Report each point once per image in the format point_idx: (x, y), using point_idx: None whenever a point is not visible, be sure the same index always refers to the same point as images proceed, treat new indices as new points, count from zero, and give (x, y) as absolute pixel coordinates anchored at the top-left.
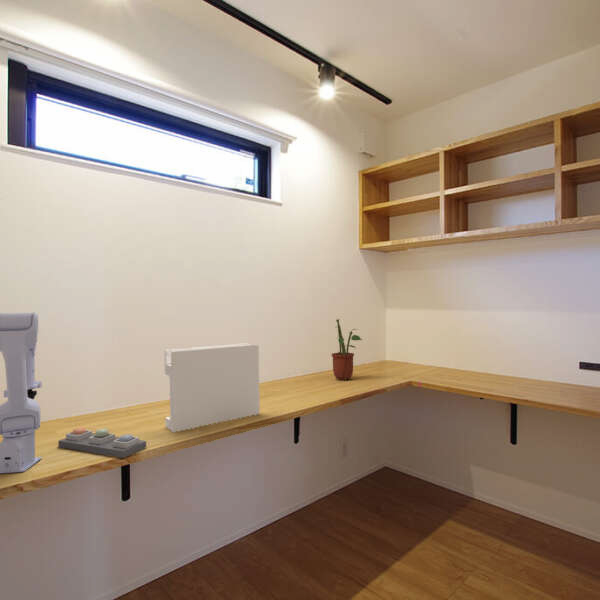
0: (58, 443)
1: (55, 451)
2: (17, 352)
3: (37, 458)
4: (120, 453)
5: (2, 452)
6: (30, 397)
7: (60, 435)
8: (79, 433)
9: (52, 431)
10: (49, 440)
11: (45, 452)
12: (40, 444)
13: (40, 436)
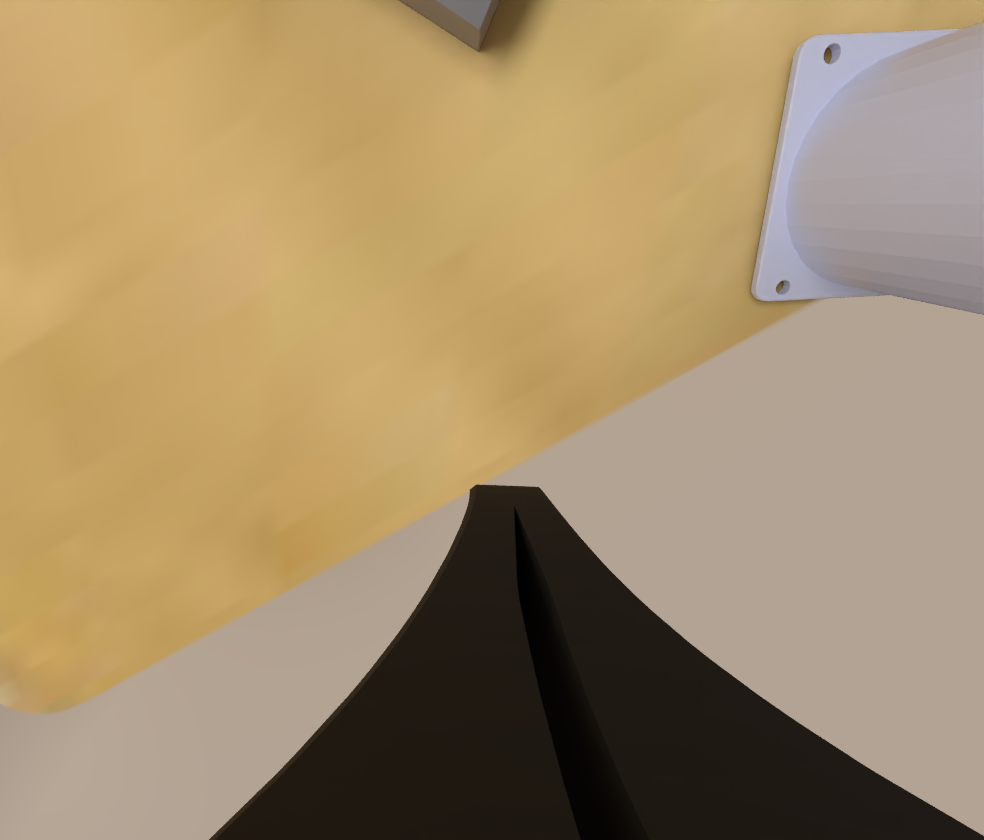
0: (479, 39)
1: (605, 12)
2: None
3: (835, 62)
4: None
5: None
6: (626, 771)
7: (129, 237)
8: None
9: (35, 382)
10: (280, 268)
11: (610, 115)
12: (386, 291)
13: (183, 408)
